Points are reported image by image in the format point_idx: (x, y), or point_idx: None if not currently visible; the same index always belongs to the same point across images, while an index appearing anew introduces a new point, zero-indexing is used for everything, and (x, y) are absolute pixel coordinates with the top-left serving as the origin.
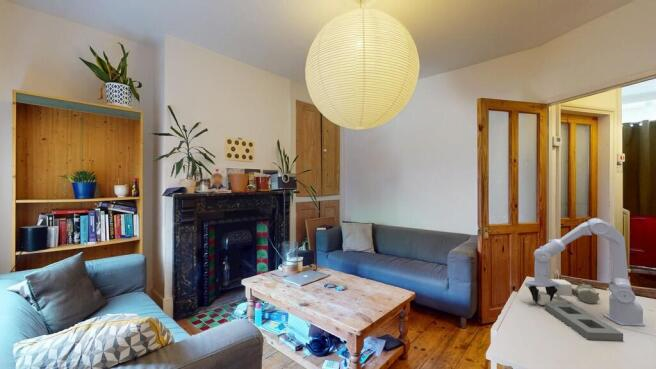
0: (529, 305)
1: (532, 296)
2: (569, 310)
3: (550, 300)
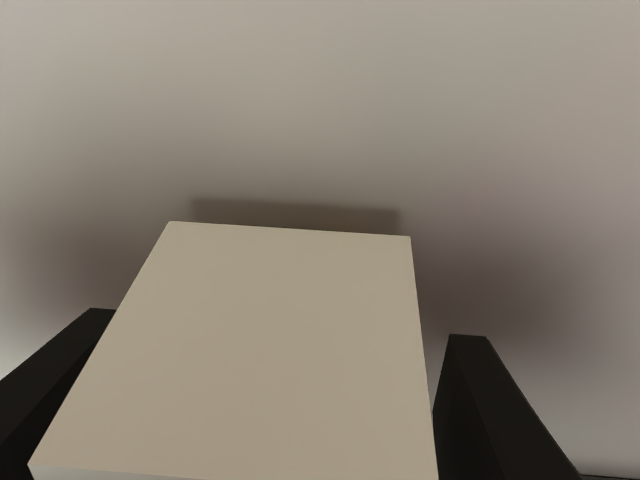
0: (9, 322)
1: (13, 384)
2: None
3: (441, 473)
